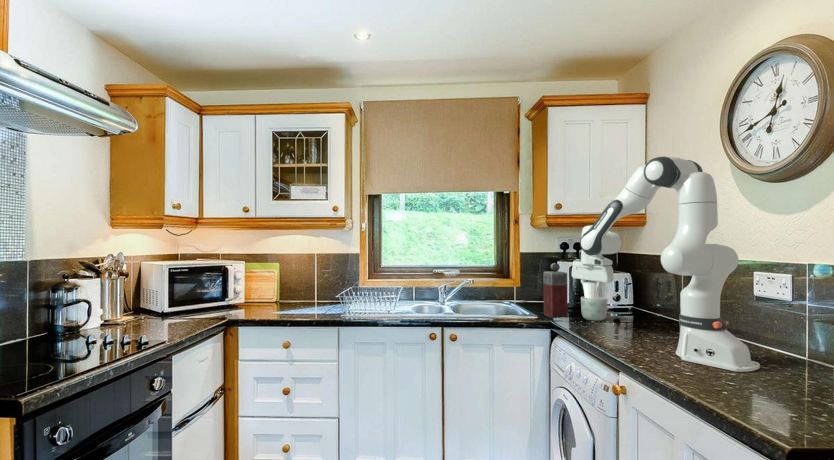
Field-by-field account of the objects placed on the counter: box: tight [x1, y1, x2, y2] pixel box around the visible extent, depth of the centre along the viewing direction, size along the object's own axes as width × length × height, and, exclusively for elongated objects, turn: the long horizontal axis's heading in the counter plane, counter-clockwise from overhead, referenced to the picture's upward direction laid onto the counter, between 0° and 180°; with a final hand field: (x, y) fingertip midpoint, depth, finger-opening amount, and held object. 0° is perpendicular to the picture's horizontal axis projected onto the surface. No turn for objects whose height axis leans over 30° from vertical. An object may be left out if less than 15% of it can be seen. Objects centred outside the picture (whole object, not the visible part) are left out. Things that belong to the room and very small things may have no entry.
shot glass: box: [582, 281, 600, 299], centre depth 178 cm, size 7×7×7 cm
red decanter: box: [543, 262, 568, 319], centre depth 208 cm, size 9×11×28 cm
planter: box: [580, 296, 608, 322], centre depth 198 cm, size 12×12×11 cm
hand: (591, 290), depth 178 cm, fingers closed on shot glass, 5 cm apart
